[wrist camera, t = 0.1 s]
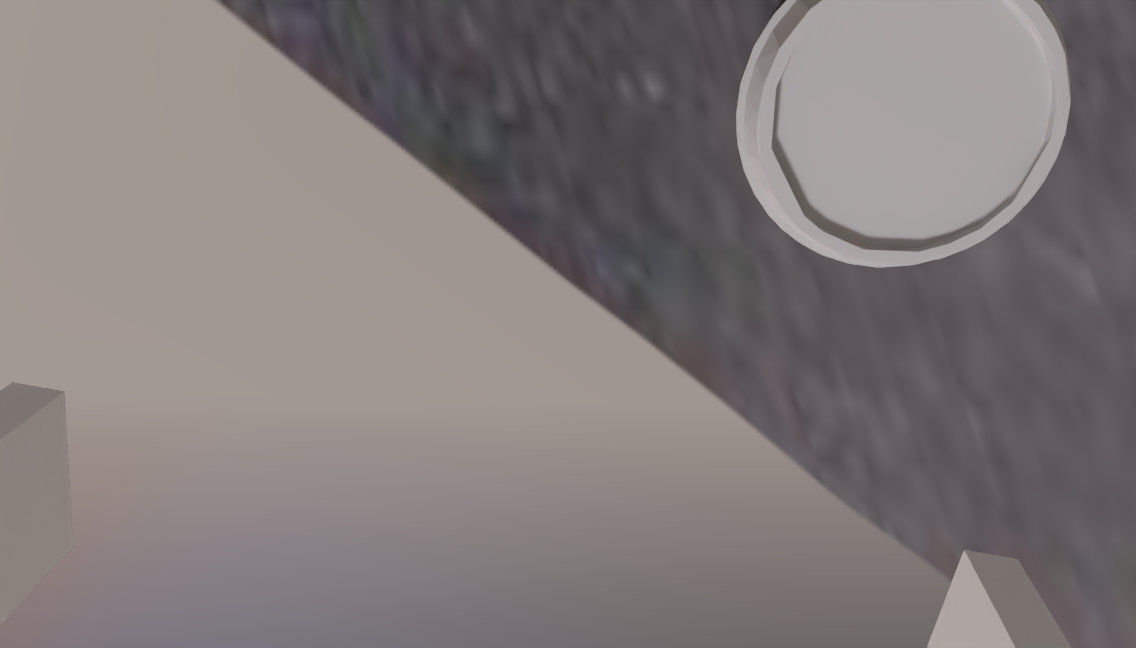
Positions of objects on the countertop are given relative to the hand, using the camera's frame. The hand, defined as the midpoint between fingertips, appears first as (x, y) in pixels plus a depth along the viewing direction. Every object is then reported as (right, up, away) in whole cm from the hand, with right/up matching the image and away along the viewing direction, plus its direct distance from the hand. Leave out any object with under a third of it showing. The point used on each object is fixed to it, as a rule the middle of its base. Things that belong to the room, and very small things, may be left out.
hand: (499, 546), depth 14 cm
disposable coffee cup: (+12, +13, +24) cm, 30 cm away
